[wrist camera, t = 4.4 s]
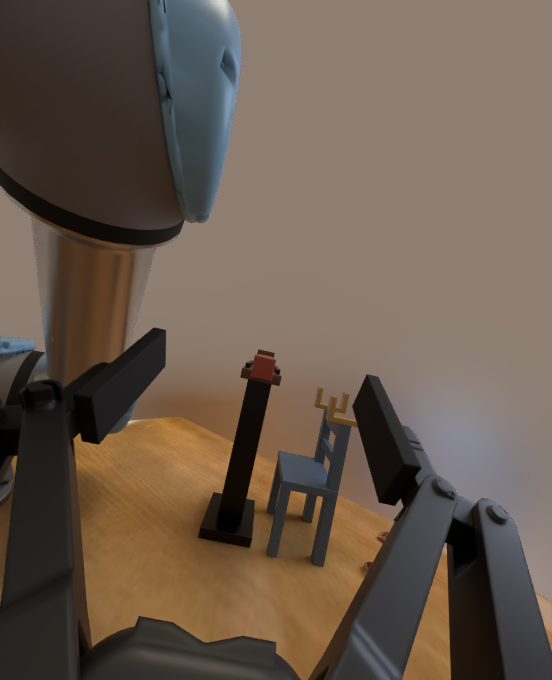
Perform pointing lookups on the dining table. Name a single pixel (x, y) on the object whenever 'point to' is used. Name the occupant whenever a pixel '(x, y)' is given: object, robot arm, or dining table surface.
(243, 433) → the stand
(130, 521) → the dining table surface
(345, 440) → the chair
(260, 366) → the hanger bar
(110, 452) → the dining table surface
